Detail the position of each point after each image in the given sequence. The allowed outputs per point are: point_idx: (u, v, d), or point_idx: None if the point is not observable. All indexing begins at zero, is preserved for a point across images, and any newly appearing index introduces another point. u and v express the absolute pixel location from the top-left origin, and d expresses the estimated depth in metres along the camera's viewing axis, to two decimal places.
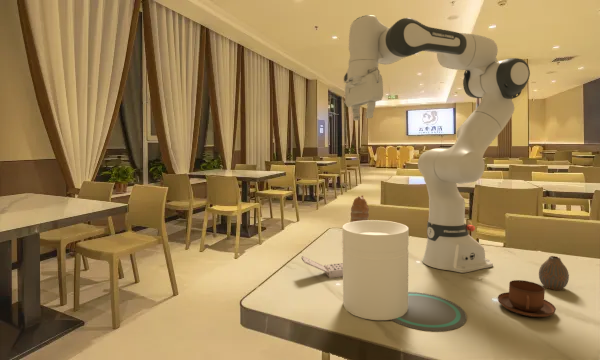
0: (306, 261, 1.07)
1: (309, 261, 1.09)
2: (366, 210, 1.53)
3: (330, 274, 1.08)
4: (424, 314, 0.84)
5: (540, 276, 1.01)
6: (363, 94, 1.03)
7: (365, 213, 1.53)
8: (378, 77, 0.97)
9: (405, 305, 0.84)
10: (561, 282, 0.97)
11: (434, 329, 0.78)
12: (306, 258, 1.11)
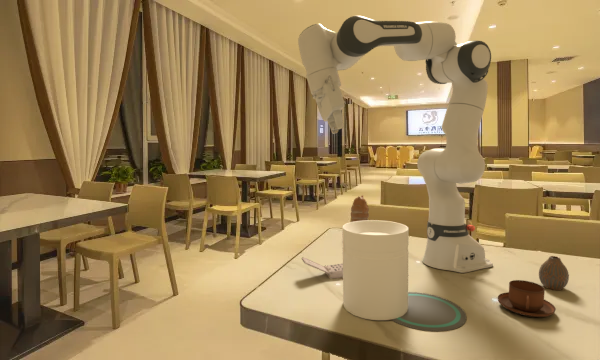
0: (306, 262, 1.06)
1: (309, 262, 1.09)
2: (366, 210, 1.53)
3: (331, 275, 1.07)
4: (424, 314, 0.84)
5: (540, 276, 1.01)
6: (327, 106, 0.96)
7: (365, 213, 1.53)
8: (332, 85, 0.90)
9: (405, 305, 0.84)
10: (561, 282, 0.97)
11: (434, 329, 0.78)
12: (306, 259, 1.11)
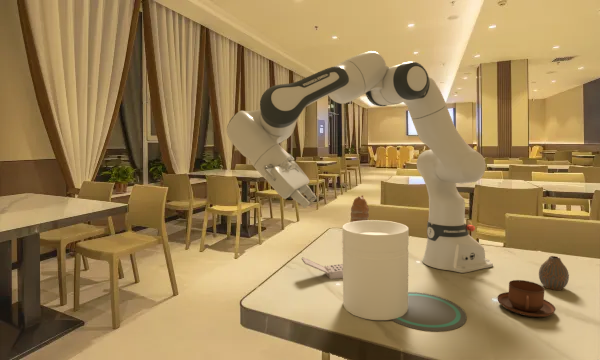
0: (306, 262, 1.06)
1: (309, 262, 1.09)
2: (366, 210, 1.53)
3: (331, 275, 1.07)
4: (424, 314, 0.84)
5: (540, 276, 1.01)
6: None
7: (365, 213, 1.53)
8: (270, 176, 0.81)
9: (405, 305, 0.84)
10: (561, 282, 0.97)
11: (434, 329, 0.78)
12: (306, 259, 1.10)
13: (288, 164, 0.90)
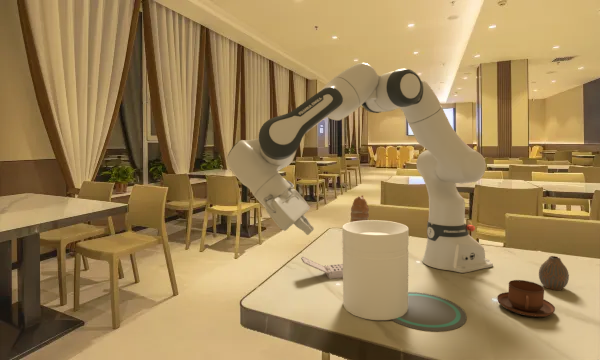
0: (306, 261, 1.07)
1: (309, 261, 1.09)
2: (366, 210, 1.53)
3: (330, 275, 1.07)
4: (424, 314, 0.84)
5: (540, 276, 1.01)
6: None
7: (365, 213, 1.53)
8: (270, 209, 0.82)
9: (405, 305, 0.84)
10: (561, 282, 0.97)
11: (434, 329, 0.78)
12: (306, 258, 1.11)
13: (288, 194, 0.90)
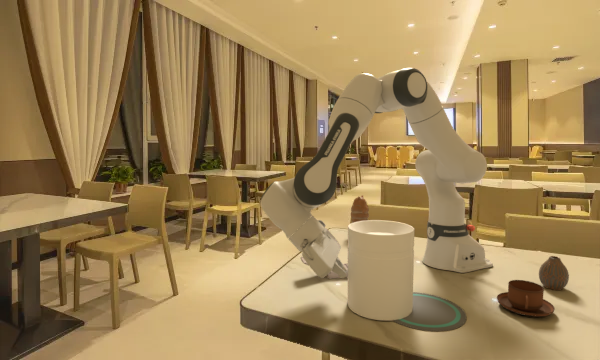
0: (305, 261, 1.07)
1: None
2: (366, 210, 1.53)
3: (329, 275, 1.07)
4: (424, 314, 0.84)
5: (540, 276, 1.01)
6: None
7: (365, 213, 1.53)
8: (308, 256, 0.81)
9: (410, 305, 0.84)
10: (561, 282, 0.97)
11: (434, 329, 0.78)
12: None
13: (322, 237, 0.90)
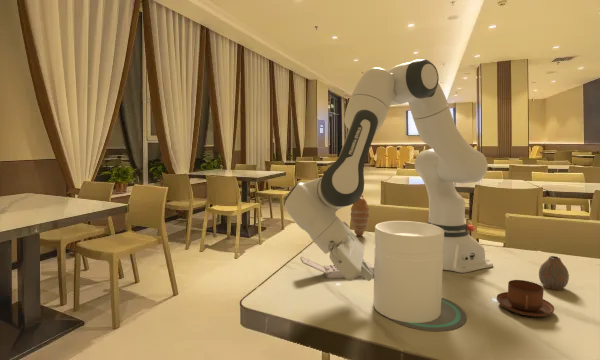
0: (305, 261, 1.07)
1: (308, 261, 1.09)
2: (366, 210, 1.53)
3: (329, 275, 1.07)
4: None
5: (540, 276, 1.01)
6: None
7: (365, 213, 1.53)
8: (336, 259, 0.80)
9: (439, 307, 0.83)
10: (561, 282, 0.97)
11: (434, 329, 0.78)
12: (305, 258, 1.11)
13: (348, 239, 0.88)
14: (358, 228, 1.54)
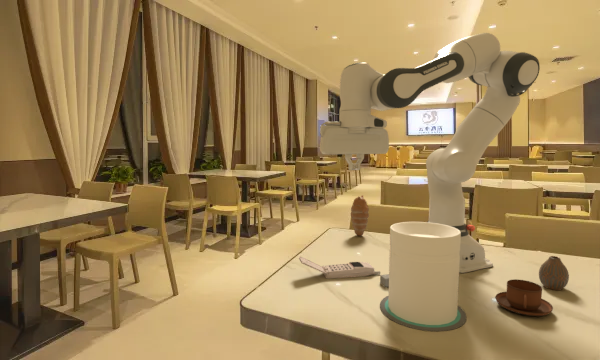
0: (303, 261, 1.07)
1: (307, 261, 1.09)
2: (366, 210, 1.53)
3: (327, 275, 1.07)
4: None
5: (540, 276, 1.01)
6: None
7: (365, 213, 1.53)
8: (320, 132, 0.99)
9: (456, 309, 0.83)
10: (561, 282, 0.97)
11: (434, 329, 0.78)
12: (304, 258, 1.11)
13: (354, 131, 0.99)
14: (358, 228, 1.54)
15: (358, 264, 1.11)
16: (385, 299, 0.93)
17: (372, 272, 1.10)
